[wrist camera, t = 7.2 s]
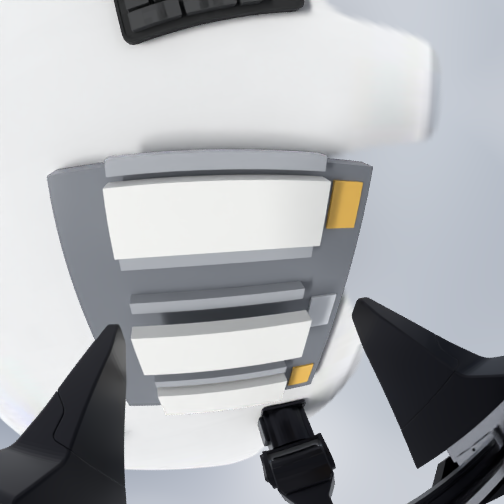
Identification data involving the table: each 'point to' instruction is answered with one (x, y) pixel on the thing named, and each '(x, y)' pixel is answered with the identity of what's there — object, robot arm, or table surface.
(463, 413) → the robot arm
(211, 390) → the key
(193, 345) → the key middle
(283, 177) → the key
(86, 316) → the switch panel
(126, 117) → the table surface
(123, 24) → the keyboard
